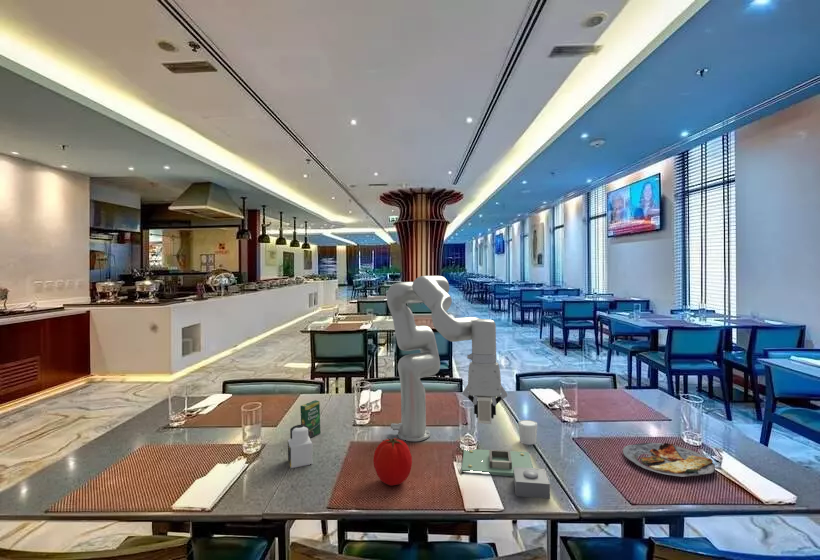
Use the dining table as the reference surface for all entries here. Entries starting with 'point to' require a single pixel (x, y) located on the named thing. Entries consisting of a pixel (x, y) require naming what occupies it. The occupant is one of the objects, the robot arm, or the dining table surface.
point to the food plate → (670, 459)
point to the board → (476, 456)
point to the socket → (500, 463)
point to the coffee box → (311, 417)
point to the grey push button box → (531, 482)
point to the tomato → (392, 461)
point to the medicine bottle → (299, 447)
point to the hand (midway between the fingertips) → (485, 416)
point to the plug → (484, 410)
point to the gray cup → (528, 431)
